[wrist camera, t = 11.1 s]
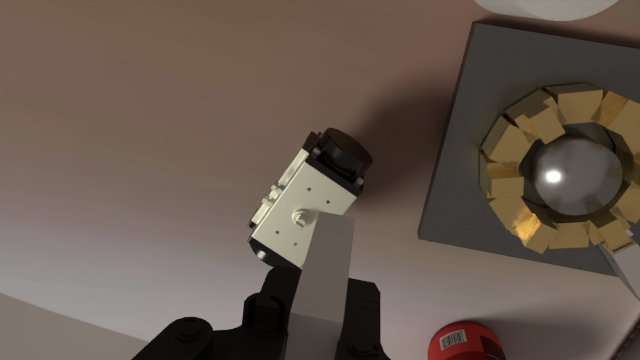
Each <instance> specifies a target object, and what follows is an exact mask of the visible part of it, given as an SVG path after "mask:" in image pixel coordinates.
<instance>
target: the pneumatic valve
mask: <svg viewBox="0 0 640 360" xmlns="http://www.w3.org/2000/svg"><path fill="white" fill-rule="evenodd" d="M372 162H373V160H372V157H371V155H370V154H369V153H368V151H367V150H366V149H365V148H364V147H363V146H362V145H361V144H360V143H358V142H357V141H356V140H355V139H353V138H352V137H350V136H349V135H347V134H346V133H344V132H342V131H340V130H337V129H334V128H328V129H326V131H325V132H324V133H321V132H319V133H318V135H317V134H315V133H314V132H312V131H311V133H310V134H309V135H308V137H307V138H306V140H305V141H304V143H303V144H302V145H301V147H300V148H299V150H298V151H297V153H296V154H295V156H294V157H293V158H292V160H291V161H290V163H289V164H288V166H287V167H286V168H285V170H284V171H283V173H282V174H281V176H280V177H279V178H278V180H277V181H275V182H274V184H273V185H272V187H271V188H270V189H271V190H270V191H269V193H268V194H266V195H265V197H264V198H263V200H262V201H261V202H262V203H261V204H260V206H259V207H258V209H257V210H256V212H255V213H254V215H253V217H252V218H251V220H250V222H249V224H248V226H249V227H250V228H252V229H253V232H252V233H251V235H250V237H249V239H248V242H249V243H250V246H251V248H252V250H253V252H254V253H255V254H256V255H257V257H258V258H260V259H261V260H262V261H263V262H264V263H266V264H268V265H269V266H272V267H275V266H276V265H280V266H286V267H291V268H296V269H301V267H302V266H303V265H304V262H305V259H306V255H307V252H308V248H309V245H310V241H311V238H312V234H313V231H314V228H315V224H316V221H317V217H318V214H319V211H322V212H328V213H333V214H338V215H344V214H345V212H346V211H347V210H348V209H349V207H350V206H351V205H352V204H353V202H354V201H355V200H356V199H357V197H358V196H359V195H360V194H361V192H362V191H363V182H364V173H365V172H366V170H367V169H368V168H369V167H370V165H371V164H372Z"/></svg>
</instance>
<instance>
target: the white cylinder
mask: <svg viewBox="0 0 640 360" xmlns="http://www.w3.org/2000/svg"><path fill="white" fill-rule="evenodd" d="M474 1H475V2H476V3H477V4H479V5H480V6H481V7H483V8H484V9H486V10H488V11H490V12H493V13H497V14H503V15H511V16H520V17H528V18H537V19H545V20H553V21H571V20H578V19H582V18H586V17H589V16H592V15H594V14H596V13H599V12H601V11H603V10H604V9H606V8H608V7H610V6H611V5H613V4H614V3H615V2H617V1H618V0H474Z"/></svg>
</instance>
